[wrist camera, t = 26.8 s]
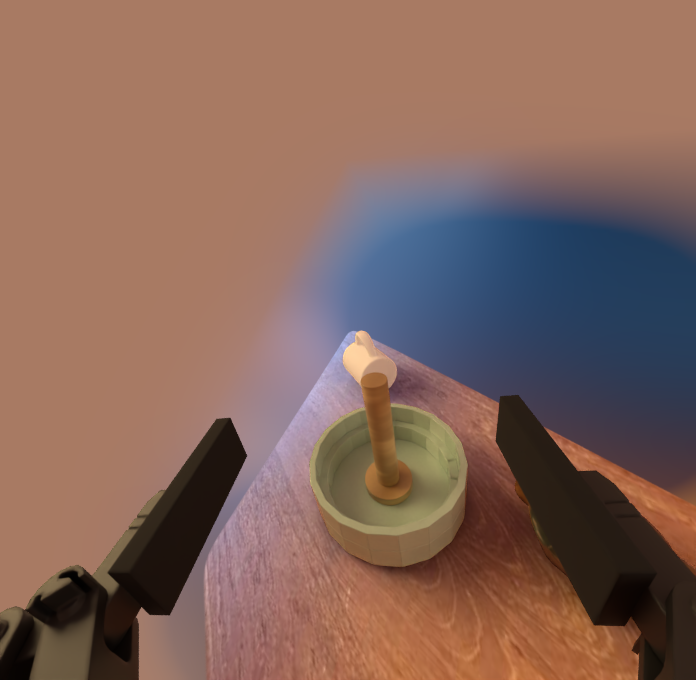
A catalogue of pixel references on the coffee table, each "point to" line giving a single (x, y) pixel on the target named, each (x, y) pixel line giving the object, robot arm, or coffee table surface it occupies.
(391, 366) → the mug
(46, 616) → the robot arm
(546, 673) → the coffee table surface
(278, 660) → the coffee table surface
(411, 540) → the bowl
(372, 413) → the wooden peg stand
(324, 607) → the coffee table surface
